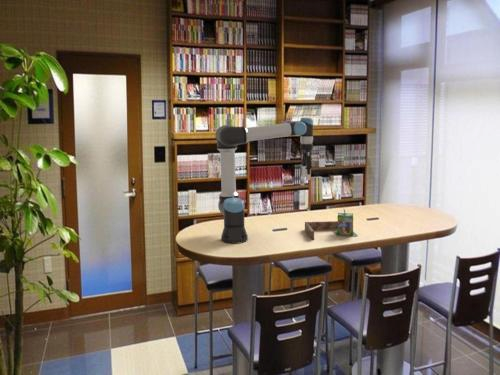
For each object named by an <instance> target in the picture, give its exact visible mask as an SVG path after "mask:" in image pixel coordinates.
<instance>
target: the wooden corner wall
mask: <svg viewBox="0 0 500 375" xmlns="http://www.w3.org/2000/svg"><path fill="white" fill-rule="evenodd" d="M304 231H305V232H306V234H307V235H308V237H309V239H310V240H311V241H314V240H315V231H338V220H335V221H333V220H331V221H329V220H328V221H327V220H326V221H325V220H324V221H304Z"/></svg>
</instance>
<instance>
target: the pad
mask: <svg viewBox="0 0 500 375" xmlns="http://www.w3.org/2000/svg"><path fill="white" fill-rule="evenodd" d="M337 231H338V230H332V232H333V233H334V234H335V236H336V237H337V238H340V237H341V238H342V237H343V238H344V237H348V238H349V237H358V234H357V233H356V232H355V231H354V230H353V235H338V234H337Z"/></svg>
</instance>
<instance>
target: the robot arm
mask: <svg viewBox="0 0 500 375" xmlns="http://www.w3.org/2000/svg"><path fill="white" fill-rule="evenodd" d="M293 136H299V137H300V138H299V139H300V141H299V142H300V144H299V145H300V150H301V151H302V155H301V156H302V158H301V159H302V160H301V177H304V178H305V180H308V181H311V179H312V178H311V176H312V175H311V172H312V171H311V170H312V168H313V167H312V157H311V155H312V154H311V152H310V151H312V150H314V144H313V142H314V118H312V117H301V118H300V120H297V121H295V120H292V121H291V120H289V121H288V120H285V121H281V123H276V124H269V125H268V124H267V125H261V126H260V125H259V126H252V127H246V126H243V125H241V126H234V125H229V124H228V125H227V124H226V125H225V124H224V125H221V126H220V127H219V128H218V129H217V130H216V131H215V140H216V149H217V151H219V162H220V163H219V164H220V183H221V186H220V187H221V192H220V193H219V195H218V197H219V198H218V199H219V200H218V206H217V207H218V210H219V212H220V213H221V214H222V215H223V229H222V232H221V236H220V238H221V239H220V240H221V242H223V241H225V242H224V243H226V242H242V243H244V242H243V241H245V242H247V241H248V239H249V238H248V233H247V230H246V227H245V201H244V200H243V199H242V198H240V197H239V193H238V191H237V184H236V181H237V180H236V178H237V177H236V154H235V152H236V151H237V149H238V145H245V144H247V143H248V142H253V141H261V140H269V139H276V138H277V139H278V138H284V137H285V138H286V137H293ZM246 240H247V241H246Z"/></svg>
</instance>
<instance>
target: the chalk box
mask: <svg viewBox="0 0 500 375" xmlns="http://www.w3.org/2000/svg"><path fill="white" fill-rule="evenodd" d="M343 211H344V212H337V221H338V230H336V231H337V234H338V235H353V231H354V213H350V212H346V210H345V208H343Z"/></svg>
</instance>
